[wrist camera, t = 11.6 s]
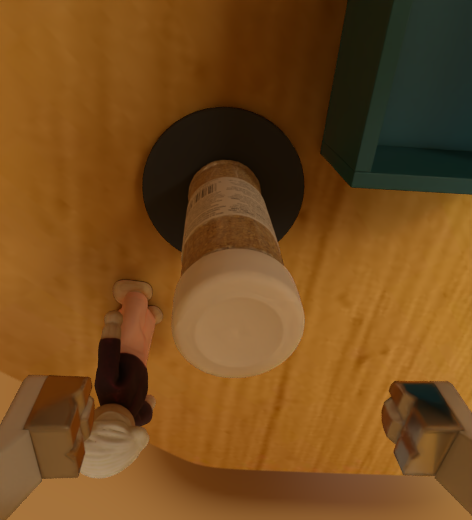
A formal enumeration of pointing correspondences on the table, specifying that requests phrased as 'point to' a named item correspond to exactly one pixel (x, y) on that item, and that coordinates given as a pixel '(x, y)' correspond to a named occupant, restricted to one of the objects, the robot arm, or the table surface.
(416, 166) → the basin
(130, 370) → the grandmother figurine
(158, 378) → the table surface
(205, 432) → the table surface
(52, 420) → the robot arm
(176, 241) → the pad
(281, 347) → the sprinkles bottle
